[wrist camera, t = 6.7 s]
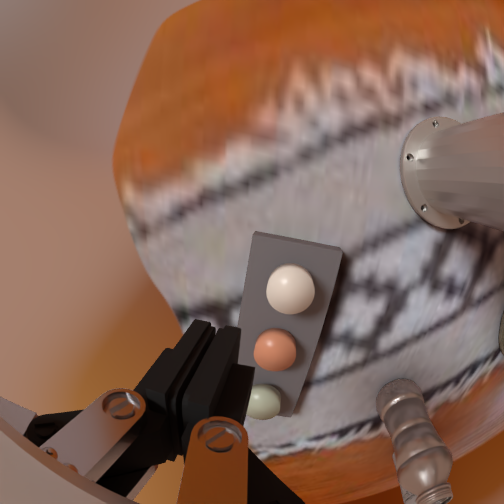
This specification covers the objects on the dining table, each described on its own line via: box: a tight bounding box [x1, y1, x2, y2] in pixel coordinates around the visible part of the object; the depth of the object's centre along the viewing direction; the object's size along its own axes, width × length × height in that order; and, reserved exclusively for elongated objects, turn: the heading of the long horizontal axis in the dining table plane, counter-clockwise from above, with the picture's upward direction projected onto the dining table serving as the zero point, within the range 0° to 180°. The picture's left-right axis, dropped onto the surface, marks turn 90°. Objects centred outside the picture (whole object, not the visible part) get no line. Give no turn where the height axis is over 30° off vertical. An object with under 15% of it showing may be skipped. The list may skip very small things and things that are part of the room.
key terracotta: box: [254, 328, 296, 371], centre depth 29 cm, size 4×4×2 cm
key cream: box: [266, 263, 315, 314], centre depth 27 cm, size 4×4×2 cm
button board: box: [237, 231, 343, 417], centre depth 31 cm, size 9×23×2 cm, turn 170°
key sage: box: [246, 384, 281, 420], centre depth 30 cm, size 4×4×2 cm
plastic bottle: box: [376, 379, 453, 504], centre depth 23 cm, size 6×7×20 cm
